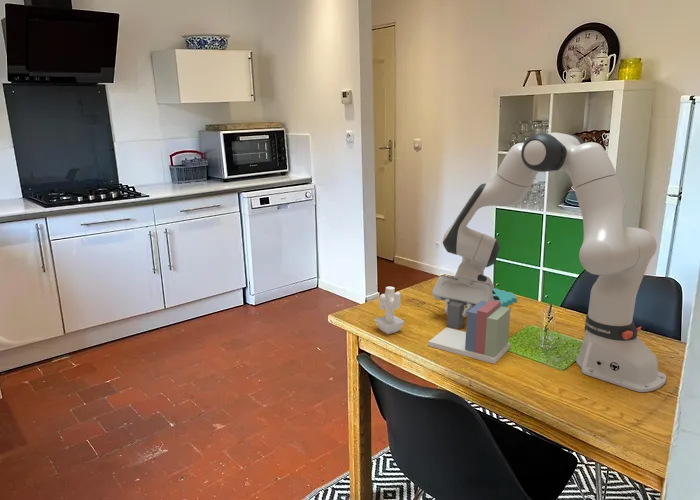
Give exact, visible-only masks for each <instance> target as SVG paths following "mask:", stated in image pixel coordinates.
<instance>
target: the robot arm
mask: <svg viewBox="0 0 700 500" xmlns="http://www.w3.org/2000/svg"><path fill="white" fill-rule="evenodd" d="M539 172H540V173H545V172H549V173H558V172H565V173H566V174H567V175H568V176H569V179H570V181H571V184H572V187H573V191H574V193H575V196H576V199H577V202H578V206H579V209H580V212H581V217H582V222H583V224H582V225H583V238H582V239H583V241H582V244H581V247H580V248H579V253H578V257H579V262H580V264H581V266H582V267H583V269H584V270H585V271H586V272H588V273H589V274H591V275H594V276H598V277H597V279H596V281H595V282H594V284H593V285H592V288H591V290H590V294H589V295H590V297H589V303H588V304H589V305H588V312H587V314H586V316H585V322H584V332H585V333H584V336H583V337H584V338H583V340H582V344H581V346H580V350H579V351H578V355H577V357H576V359H575V360H576V363H577V365H578V366H579V367H580V371H581V373H582V374H583V375H586V376H589V377H592V378H594V379H598V380H601V381H604V382H607V383H611V384H612V385H616V386H619V387H621V388H625V389H628V390H631V391H635V392H638V393H646V392H652V391H655V390H658V389H660V388H661V387H662V386H664V385H665V384H666V382H667V375H666V374H665V373H664V372H662V371H660V370H659V364H658V363H659V362H658V358H657V355H656V354H655V353H654V352H653V351H652V350H651V349H650V348H649V347H648V346H647V345H646V344H645V343H644V342H643V341H642V340H641V339H640V338H639V337H638V332H641V331H642V326H639V327H636V325H635V323H634V320H633V318H634V312H635V306H636V299H637V295H638V292H639V288H640V285H641V283H642V281H643V278H644V275H645V274H646V270H647V267H648V265H649V263H650V261H651V260H652V258H653V256H654V255H655V254H656V251H657V248H658V247H657V241H656V238H655V237H654V235H653V234H652V233H651V232H650V231H648V230H647V229H644V228H642V227H641V228H640V227H629V226H628V227H625V225H624V224H625V223H624V211H625V208H626V205H627V201H626V198H625V194H624V192H623V189H622V187H621V184H620V181H619V178H618V175H617V172H616V169H615V167H614V165H613V162H612V160H611V159H610V157H609V155H608V152H606V150H605V148H604V147H603V145H601V144H600V143H597V142H594V141H592V142H591V141H589V142H584V141H583V140H582V139H581V138H580V137H579V136H577V135H575V134H571V133H563V132H562V133H560V132H540V133H537V134H534V135H532V136H529V138H527V139H526V140H525V141H524V142H518V143H515V144H513V145H512V146H511V147H510V149H508V152H507V153H506V155H505V156H504V158H503V160H502V162H501V163H500V165H499V167H498V169H497V171H496V173H495V175H494V176H493V178H491V180H489V181H488V182H487V183H481V184H480V185H479V186H478V187H477V188H476V189H475V190H474V192H473V193H472V195H471V196H470V197H469V199H467V202H466V203H465V205H464V207H463V208H462V210H461V211H460V212H459V214H458V215H457V217H456V219H455V220H454V222H453V223H452V224H451V225H450V227H448V228H447V230H446V231H445V233H444V235H443V237H442V245H443V248H444V249H445V250H446V252H447V253H449V254H451V255H452V254H453V255H457V256H460V257H462V258H461V259H462V260H461V262H460V264H459V265H458V268H457V270H456V272H455V275H449V274H446V273H445V274H442V275H439V276H438V278H437V280H436V283H435V285H434V287H433V288H432V290H431V294H432V296H433V298H434V299H435V300H439V301H444V303H445V309H444V313H445V314H447V312H448V304H449V303H451V302H452V301H456V302H461V303H464V306H465V305H466V306H467V308H466V307H465V308H464V310H461V313H460V316H461V317H463V318H467V311H469V310H470V309H471V308H472V307H474V306H475V305H476V304H478V303H479V302H480V301H486V302H489V301H490V300H493V293H492V291H493V290H494V288H495V286H494V283H493V281H492V280H491V278H490V277H489V276H486V275H485V269H486V268H489V267H491V266H493V265H495V264H496V261H497V257H498V254H499V251H500V250H501V245H500V243H499V241H498V239H497V238H495V237H493V236H490V235H488V234H485V233H482V232H480V231H477V230H475V229H471V228H469V227H468V225H469V223H470V221H471V220H472V219H473V217H474V216H475V214H476V213H477V211H478V210H479V209H481V208H483V207H484V208H485V207H493V206H494V207H508V206H513V205H516V204H518V203H520V202H521V201H523V200H524V199H525V198H526V196H527V194H528V193H529V190H531V186H532V184H533V182H534V180H535V178H536V177H537V175H538V174H539Z"/></svg>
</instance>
